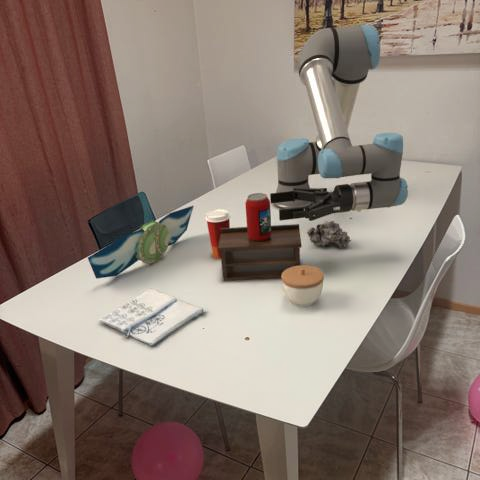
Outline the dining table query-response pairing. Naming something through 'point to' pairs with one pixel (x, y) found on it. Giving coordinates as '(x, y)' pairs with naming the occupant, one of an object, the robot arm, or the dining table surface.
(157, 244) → the winged emblem
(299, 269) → the trinket box
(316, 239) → the mineral specimen
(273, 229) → the wooden shelf
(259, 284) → the dining table surface
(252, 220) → the beverage can
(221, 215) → the paper cup
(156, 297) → the folded bicycle print cloth
